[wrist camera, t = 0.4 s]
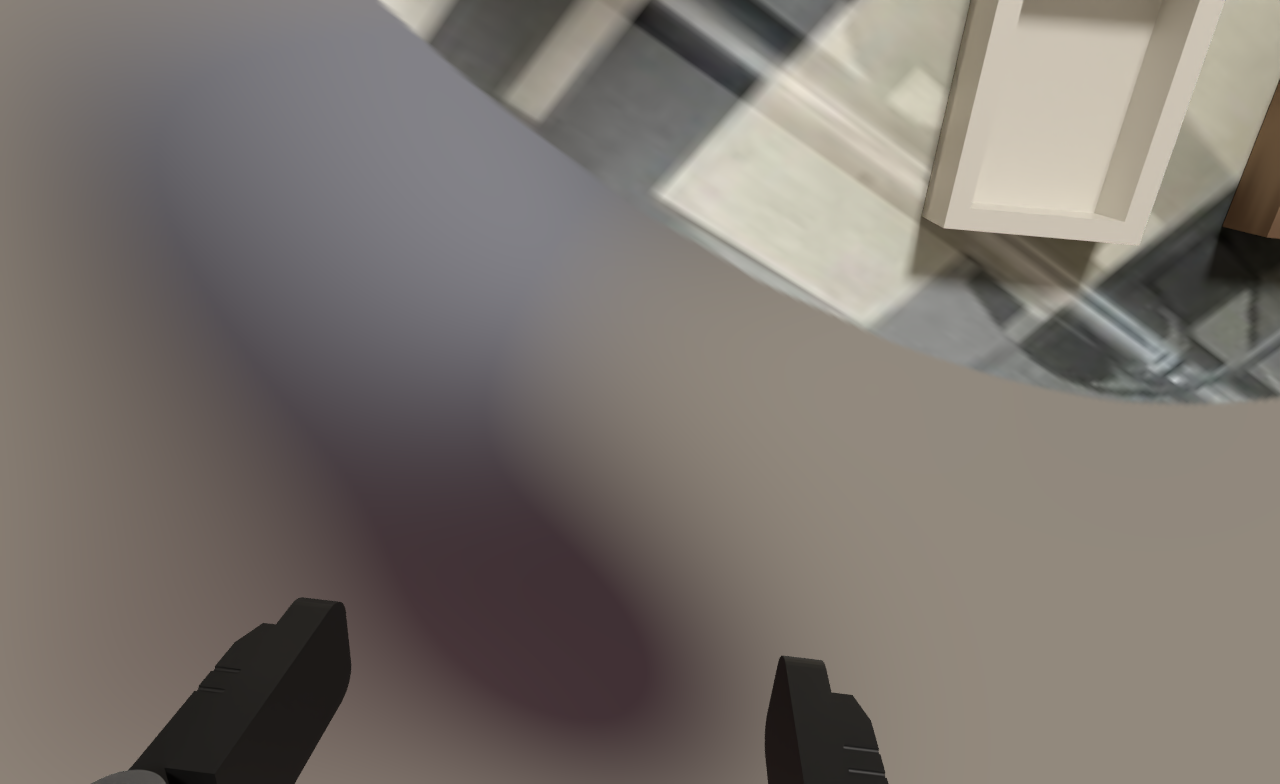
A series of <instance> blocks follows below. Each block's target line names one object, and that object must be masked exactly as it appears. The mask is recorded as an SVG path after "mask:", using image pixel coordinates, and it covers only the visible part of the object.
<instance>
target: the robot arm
mask: <svg viewBox="0 0 1280 784" xmlns="http://www.w3.org/2000/svg"><path fill="white" fill-rule="evenodd" d="M350 674H351V658H350V648H349V639H348V629H347V620H346V610H345V607H344V605H343V603H342V602H337V601H328V600H319V599H311V598H303V597H302V598H298V599H297V600H295V601H294V602H293V603H292V605H291V606H290V607H289V608H288V610H287V611H286V612H285V614H284V615H283V616H282V617H281V619H280V620H279V621H278V622H277V624H276V625H275V624H267V623H263V624H261V625H260V626H258V627H257V628H255V629H254V630H252V631H251V632H249V633H248V634H246V635H245V636H243V637H242V638H240V639H239V640H238V641H236V642H235V643H234V644H233V645H232V646H231V648H230V649H229V650H228V651H227V652H226V654H225V655H224V656H223V657H222V658H221V660H220V661H219V662H218V663H217V665H216V666H215V669H214V671H211V672H210V673H209V674H208V675H207V677H206V678H205V679H204V680H203V681H202V683H201V684H200V685H199V688H198V690H197V691H194V692H193V693H192V695H191V696H190V697H189V698H188V699H187V701H186V702H185V703H184V704H183V705H182V707H181V708H180V709H179V710H178V711H177V713H176V714H175V715H174V716H173V717H172V719H171V720H170V721H169V722H168V724H167V725H166V726H165V727H164V729H163V730H162V731H161V732H160V733H159V734H158V736H157V737H156V738H155V739H154V741H153V742H152V743H151V744H150V745H149V746H148V748H147V749H146V750H145V751H144V752H143V754H142V755H141V756H140V757H139V759H138V760H137V761H136V762H135V763H134V764H133V766H132V767H131V768H130V769H129V770H128V771H123V772H118V773H115V774H111V775H109V776H106V777H104V778H101V779H99V780H97V781H95V782H93V783H92V784H295V782H296V780H297V778H298V777H299V775H300V773H301V771H302V770H303V768H304V766H305V764H306V763H307V761H308V759H309V757H310V756H311V754H312V752H313V751H314V749H315V747H316V745H317V743H318V742H319V740H320V738H321V737H322V735H323V733H324V732H325V730H326V728H327V726H328V724H329V723H330V721H331V719H332V718H333V716H334V714H335V712H336V711H337V709H338V707H339V705H340V704H341V702H342V700H343V698H344V696H345V693H346V691H347V687H348V684H349V680H350ZM878 750H879V748H878V745H877V741H876V737H875V734H874V730H873V727H872V723H871V720H870V719H869V718H868V716H867V715H866V713H865V712H864V711H863V709H862V708H861V706H860V705H859V704H858V702H857V701H856V699H855V698H854V697H853V695H847V694H839V693H831V689H830V684H829V680H828V675H827V671H826V667H825V664H824V662H823V661H822V660H814V659H806V658H797V657H789V656H781V657H780V659H779V662H778V666H777V670H776V675H775V680H774V685H773V689H772V694H771V699H770V703H769V708H768V713H767V718H766V726H765V757H766V767H767V776H768V784H888V781H887V778H885V770H884V766H883V763H882V759H881V755H880V754H879V752H878Z"/></svg>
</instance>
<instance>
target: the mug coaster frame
mask: <svg viewBox="0 0 1280 784" xmlns="http://www.w3.org/2000/svg"><path fill="white" fill-rule="evenodd" d="M1222 227H1226V228H1230V229H1234V230H1238V231H1242V232H1246V233H1250V234H1254V235H1258V236H1263V237H1267V238H1278V239H1280V81H1279V84H1278V87H1277V89H1276V92H1275V94H1274V97H1273V99H1272V102H1271V104H1270V107H1269V109H1268V112H1267V114H1266V117H1265V120H1264V122H1263V125H1262V127H1261V130H1260V132H1259V135H1258V137H1257V140H1256V142H1255V145H1254V147H1253V150H1252V153H1251V155H1250V158H1249V160H1248V163H1247V165H1246V168H1245V170H1244V173H1243V175H1242V178H1241V180H1240V183H1239V186H1238V188H1237V191H1236V193H1235V196H1234V198H1233V201H1232V203H1231V206H1230V208H1229V211H1228V213H1227V216H1226V219H1225V221H1224V224H1223V226H1222Z"/></svg>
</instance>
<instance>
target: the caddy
mask: <svg viewBox="0 0 1280 784" xmlns="http://www.w3.org/2000/svg"><path fill="white" fill-rule="evenodd" d="M1225 1H1226V0H971V2H970V7H969V11H968V16H967V20H966V24H965V29H964V33H963V37H962V42H961V46H960V51H959V55H958V59H957V64H956V68H955V73H954V77H953V81H952V86H951V90H950V94H949V99H948V103H947V108H946V112H945V116H944V121H943V125H942V129H941V134H940V138H939V143H938V147H937V151H936V156H935V160H934V165H933V169H932V173H931V178H930V182H929V186H928V191H927V195H926V200H925V204H924V208H923V213H922V217H924V218H925V219H927V220H929V221H931V222H933V223H935V224H937V225H939V226H940V227H942V228H947V229H958V230H970V231H981V232H992V233H1004V234H1015V235H1026V236H1037V237H1049V238H1060V239H1071V240H1082V241H1094V242H1105V243H1116V244H1128V245H1140V242H1141V239H1142V236H1143V234H1144V231H1145V228H1146V225H1147V222H1148V219H1149V216H1150V214H1151V211H1152V208H1153V205H1154V202H1155V199H1156V197H1157V194H1158V191H1159V188H1160V185H1161V182H1162V180H1163V177H1164V174H1165V171H1166V168H1167V165H1168V162H1169V160H1170V157H1171V154H1172V151H1173V148H1174V145H1175V143H1176V140H1177V137H1178V134H1179V131H1180V128H1181V126H1182V123H1183V120H1184V117H1185V114H1186V111H1187V109H1188V106H1189V103H1190V100H1191V97H1192V94H1193V91H1194V89H1195V86H1196V83H1197V80H1198V77H1199V74H1200V72H1201V69H1202V66H1203V63H1204V60H1205V57H1206V55H1207V52H1208V49H1209V46H1210V43H1211V40H1212V38H1213V35H1214V32H1215V29H1216V26H1217V23H1218V20H1219V18H1220V15H1221V12H1222V9H1223V6H1224V3H1225Z"/></svg>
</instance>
